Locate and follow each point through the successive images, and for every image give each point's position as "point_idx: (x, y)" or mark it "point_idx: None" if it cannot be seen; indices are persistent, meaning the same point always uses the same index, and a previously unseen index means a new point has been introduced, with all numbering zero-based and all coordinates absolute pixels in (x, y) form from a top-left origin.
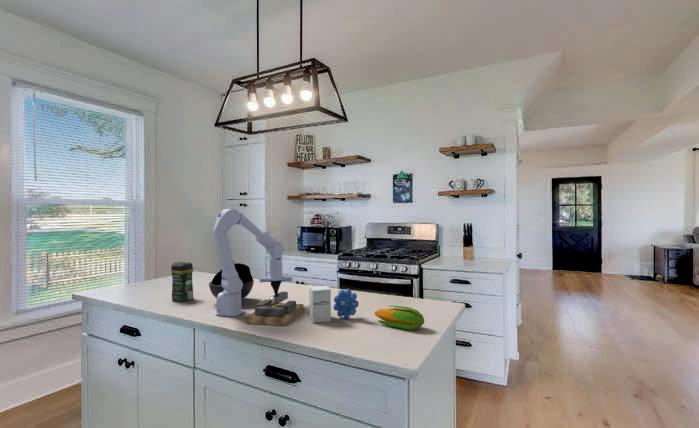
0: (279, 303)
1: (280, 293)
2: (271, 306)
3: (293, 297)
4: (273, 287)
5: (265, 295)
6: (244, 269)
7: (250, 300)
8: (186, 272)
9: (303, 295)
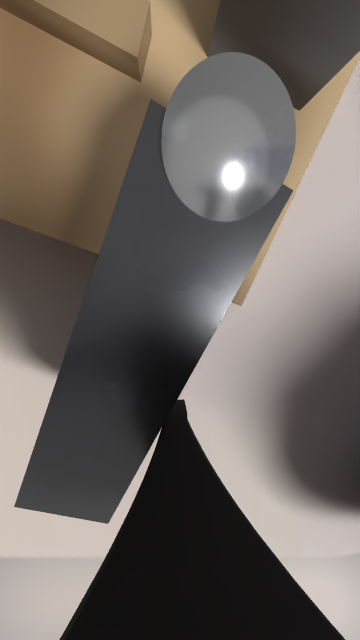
0: None
1: (107, 439)
2: (212, 39)
3: None
4: (258, 576)
5: None
6: None
7: (340, 479)
8: None
9: (17, 547)
